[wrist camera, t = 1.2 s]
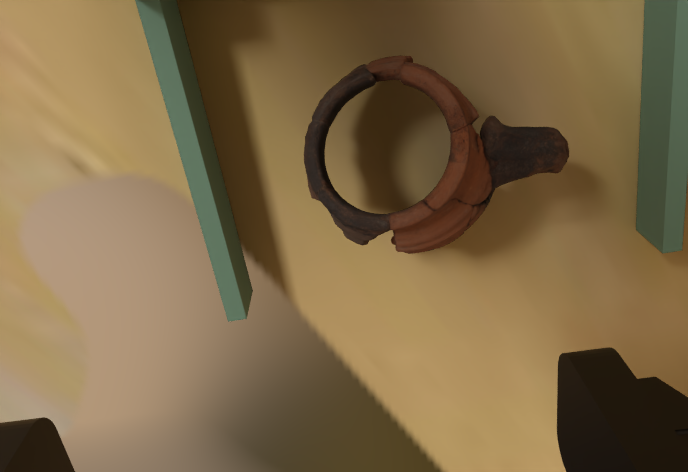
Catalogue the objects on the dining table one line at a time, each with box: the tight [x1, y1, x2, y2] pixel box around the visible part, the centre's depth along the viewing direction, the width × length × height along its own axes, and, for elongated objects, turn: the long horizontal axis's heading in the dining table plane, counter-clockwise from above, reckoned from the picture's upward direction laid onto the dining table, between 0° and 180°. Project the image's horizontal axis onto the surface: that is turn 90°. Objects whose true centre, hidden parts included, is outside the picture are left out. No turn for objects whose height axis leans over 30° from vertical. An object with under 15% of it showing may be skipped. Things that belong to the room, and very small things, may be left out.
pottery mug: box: [304, 56, 569, 254], centre depth 29 cm, size 12×9×8 cm
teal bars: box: [135, 0, 688, 321], centre depth 29 cm, size 18×25×5 cm
